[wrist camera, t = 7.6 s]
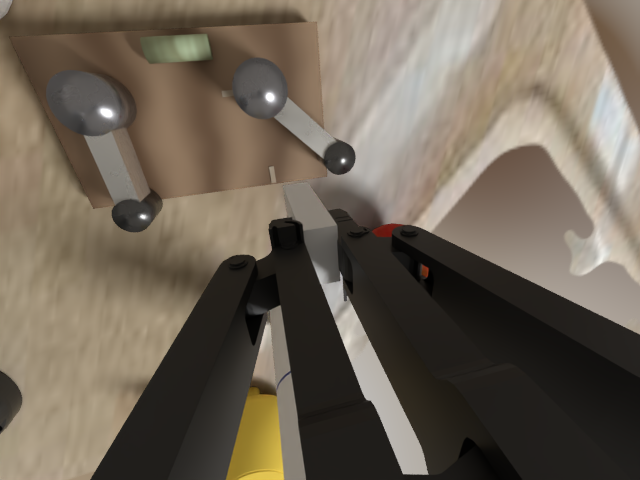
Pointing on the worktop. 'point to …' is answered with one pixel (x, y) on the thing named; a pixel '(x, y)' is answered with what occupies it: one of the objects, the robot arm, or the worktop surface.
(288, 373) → the cylindrical container
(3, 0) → the mug
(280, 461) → the teapot
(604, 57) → the worktop surface
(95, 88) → the knob
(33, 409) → the worktop surface
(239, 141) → the levelling board
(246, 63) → the knob
